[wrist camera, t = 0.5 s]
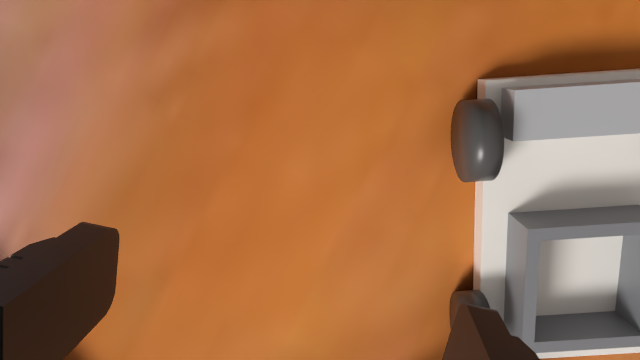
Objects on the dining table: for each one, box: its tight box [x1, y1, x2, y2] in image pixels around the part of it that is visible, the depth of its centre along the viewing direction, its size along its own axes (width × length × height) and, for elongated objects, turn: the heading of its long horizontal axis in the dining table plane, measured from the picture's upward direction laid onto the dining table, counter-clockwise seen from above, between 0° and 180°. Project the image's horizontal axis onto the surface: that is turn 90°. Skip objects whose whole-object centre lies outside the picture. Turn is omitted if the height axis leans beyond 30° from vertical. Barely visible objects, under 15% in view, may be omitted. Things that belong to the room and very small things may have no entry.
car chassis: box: [450, 69, 640, 359], centre depth 31 cm, size 20×15×5 cm
